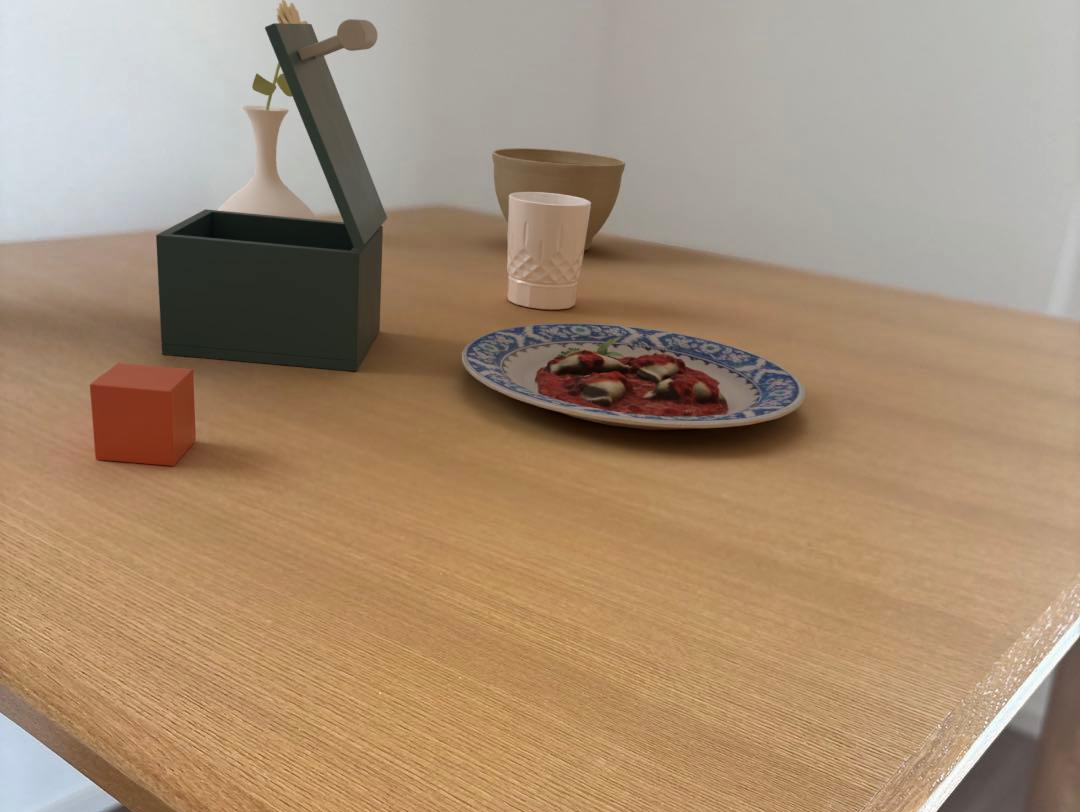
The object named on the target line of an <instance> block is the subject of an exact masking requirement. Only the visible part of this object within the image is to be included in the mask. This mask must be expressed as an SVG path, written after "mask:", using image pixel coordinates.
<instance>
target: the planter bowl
mask: <svg viewBox="0 0 1080 812" xmlns="http://www.w3.org/2000/svg"><path fill="white" fill-rule="evenodd" d="M491 153H492V154H491V155H492V163H493V183H494V191H495V194H496V198H497V202H498V205H499V208H500V210H501V212H502V215H503V217H504V219H505V221H506V223H507V224H508V213H509V195H510V194H511V193H516V192H543V193H554V194H562V195H569V196H575V197H579V198H583V199H586V200H588V201H590V202H591V207H590V214H589V221H588V228H587V235H586V242H585V248H584V251H587V250H590V248H591V246H592V241H593V239H594V237H595V236H596V235H597V234H598V232H600V230H601V229H602V228H603V227H604V225H605V224H606V222H607V220H608V219H609V217H610V215H611V214H612V211H613V209H614V207H615V205H616V202H617V199H618V197H619V193H620V189H621V184H622V176H623V175H624V174H623V173H624V171H625V168H626V161H625V160H624V159H620V158H617V157H613V156H608V155H603V154H596V153H591V152H582V151H574V150H564V149H563V150H562V149H549V148H536V147H535V148H533V147H532V148H530V147H529V148H528V147H512V148H511V147H510V148H509V147H508V148H500V149H495V150H493V151H492V152H491Z"/></svg>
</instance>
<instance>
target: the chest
mask: <svg viewBox="0 0 1080 812" xmlns="http://www.w3.org/2000/svg"><path fill="white" fill-rule="evenodd" d="M383 235H384V227H383V225H381V226H380V227H379V228H378V230H377V231H376V232H375V233H374V234H373V235H372V237H371V238H370V239H369V240H368V241H367V242H366V244H365V245H364V246H361V247H358V248H354V246H353V244H352V241H351V239H350V236H349V234H348V231H347V229H346V226H345V224H344V222H343V221H335V220H323V219H316V220H314V219H303V218H293V217H282V216H271V215H260V214H250V213H239V212H228V211H218V209H216V210H215V209H208V208H207V209H206V208H205V209H203V210H202V211H199V212H198V213H196V214H194V215H192V216H190V217H187V218H186V219H184V220H182V221H181V222H180V221H179V223H177V224H174V225H173V226H171V227H169V228H167V229H165V230H163V231H161V232H159V233H157V234H156V236H155V243H156V260H157V261H156V263H157V281H158V283H157V284H158V303H159V321H160V341H161V344H160V345H161V354H162V355H166V356H167V355H168V356H178V357H190V358H201V359H211V360H223V361H232V362H233V361H234V362H243V363H257V364H269V365H279V366H291V367H300V368H301V367H302V368H311V369H312V368H313V369H325V370H336V371H344V372H345V371H347V372H358V369H359V368H360V367H361V364H362V363H363V361H364V359H365V357H366V356H367V354H368V352H369V350H370V348H371V346H372V345H373V343H374V341H375V339H377V337H378V334H379V333H380V330H381V327H380V326H381V301H382V300H381V299H382V272H383V271H382V269H383V268H382V267H383V237H384V236H383Z"/></svg>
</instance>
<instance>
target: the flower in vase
mask: <svg viewBox="0 0 1080 812" xmlns="http://www.w3.org/2000/svg"><path fill="white" fill-rule="evenodd" d="M276 13H277V14H276V20H277V22H278V23H284V24H309V22H308V21H307V20H303V21H301V17H300V14H299V11H298V9H297V8H296V6H295V4H294V2H290V3H289V5H288V4H287V2H286V0H281V2H279V3H278V7H276ZM280 70H281V67H280V64H279V62H278V61H277V65H276V68H275V72H274V76H273V79H272V82H271V81H269V80H268V79H266V78H264V77H263V76H262V75H261V74H259V73H256V74H255V75H254V79H253V81H252V84H251V85H252V90H253V91H255V92H257V93H259V94H261V95H264V96H267V101H266V104H265V105H242V109H243V110H244V112H245V113H246V114H247V117H248V118H249V121H250V123H251V126H252V130H253V136H254V140H255V141H254V143H255V169H254V173H253V175H252V177H251V178H250V179H249V180H248V182H247V183H246V184H244V186H242V187H241V188H239V189H238V190H237V191H236V192H235V193H233V194H232V195H231V196H230V197H229V198H227V199H226V200H225V201H224V202H223V203H222V204H221V205H220V207H218V209H217V211H228V212H239V213H250V214H260V215H271V216H282V217H293V218H303V219H314V220H317V219H316V216H315V214H314V212H313V211H312V210H311V209H310V207H309V206H308V205H307V204H306V203H305V202H304V201H303V200H301V198H299V197H298V196H297V195H296V194H295V193H294V192H293V190H291V189H289V188H288V186H287V185H286V184H285V183H284V182H283V180H281V178H280V175H279V172H278V167H277V147H278V138H279V133H280V128H281V125H282V122H283V121H284V118H285V117H286V116H287V114H288V113H289V109H287V108H283V107H277V106H271V101H272V98H273V94H274V92H276V90H277V86H278V87H279V89H280V90H281V91H282V93H283V94H284V95H285V96H287V97H290V98H291V97H292V98H293V96H292V94H291V91H290V89H289V86H288V84H287V81H286V79H285V77H284V74H283V73H280ZM279 73H280V74H279Z"/></svg>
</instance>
